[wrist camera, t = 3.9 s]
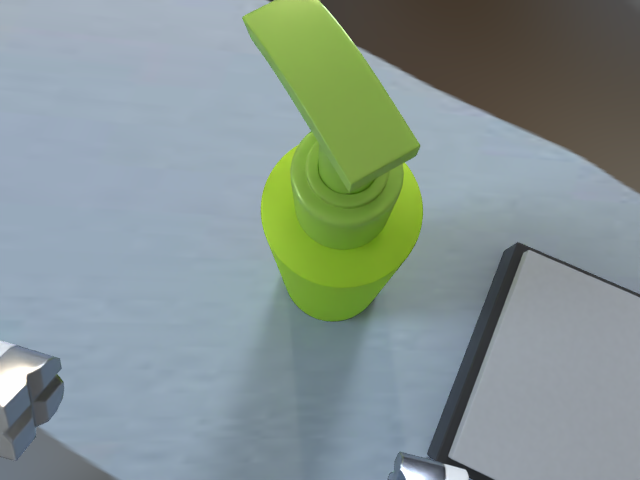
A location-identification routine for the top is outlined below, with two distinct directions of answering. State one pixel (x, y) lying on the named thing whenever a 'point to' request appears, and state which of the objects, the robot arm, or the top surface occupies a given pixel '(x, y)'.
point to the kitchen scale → (547, 378)
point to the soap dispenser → (335, 166)
